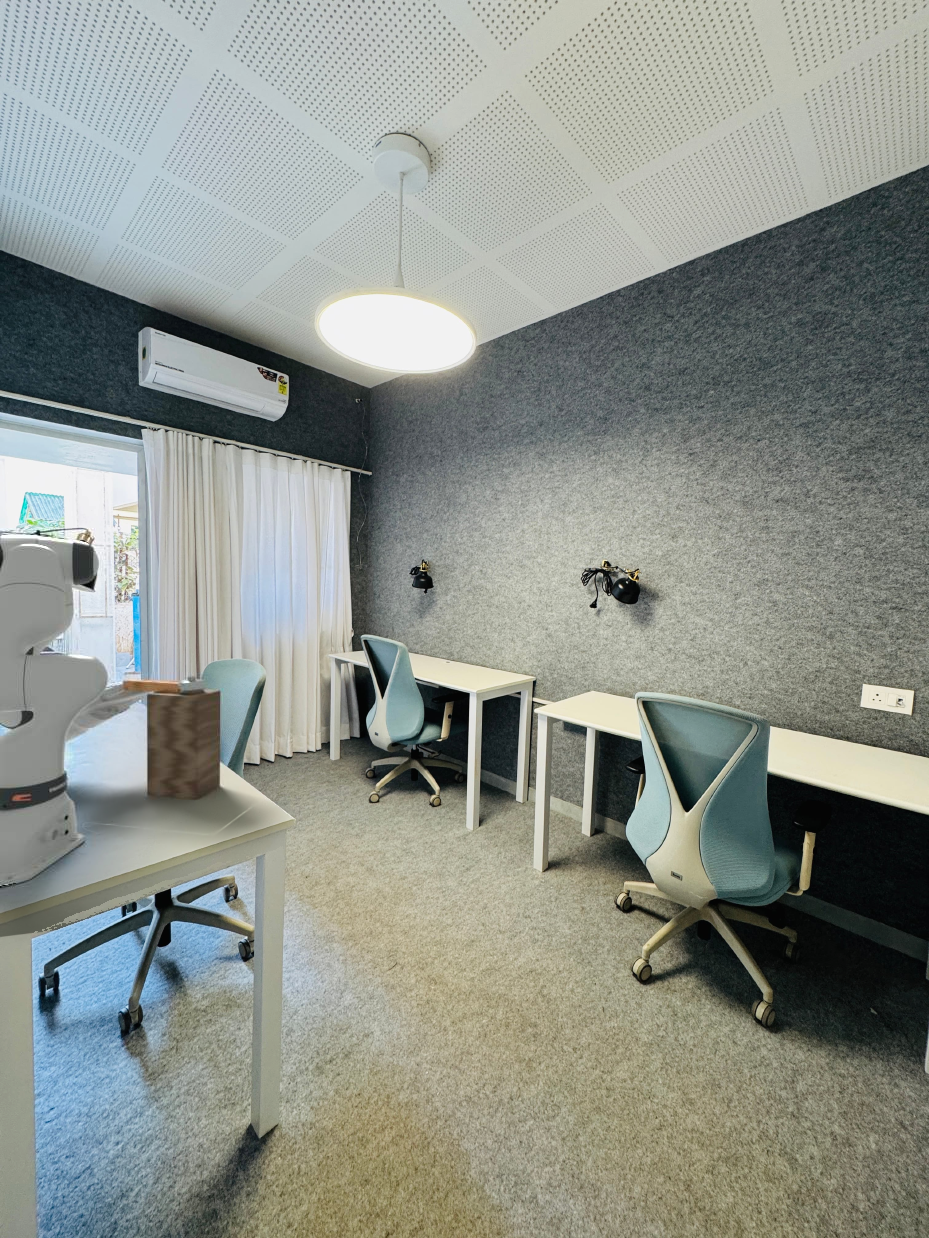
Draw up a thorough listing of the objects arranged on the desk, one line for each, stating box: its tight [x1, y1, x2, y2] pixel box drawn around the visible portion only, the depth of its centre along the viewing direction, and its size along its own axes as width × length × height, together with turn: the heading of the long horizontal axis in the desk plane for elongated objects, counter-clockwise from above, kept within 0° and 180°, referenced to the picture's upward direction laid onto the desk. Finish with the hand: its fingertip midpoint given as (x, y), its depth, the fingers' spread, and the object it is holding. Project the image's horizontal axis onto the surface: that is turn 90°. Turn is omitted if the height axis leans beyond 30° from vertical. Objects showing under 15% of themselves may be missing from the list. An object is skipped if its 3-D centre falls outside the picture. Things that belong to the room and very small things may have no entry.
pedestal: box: [146, 689, 221, 800], centre depth 129 cm, size 14×9×26 cm, turn 82°
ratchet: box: [122, 675, 206, 695], centre depth 129 cm, size 22×6×4 cm, turn 82°
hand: (135, 684), depth 130 cm, fingers open, 8 cm apart
